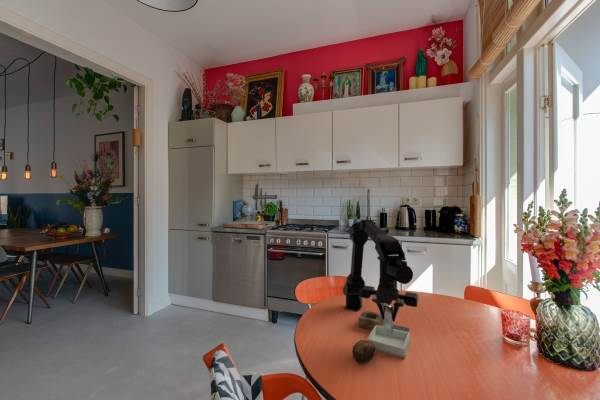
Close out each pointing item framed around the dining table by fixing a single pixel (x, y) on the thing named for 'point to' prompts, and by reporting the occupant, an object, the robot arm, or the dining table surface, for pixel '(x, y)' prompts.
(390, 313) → the pin
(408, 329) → the mat
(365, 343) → the brown coconut
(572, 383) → the dining table surface
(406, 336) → the tray
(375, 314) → the brown hollow block
